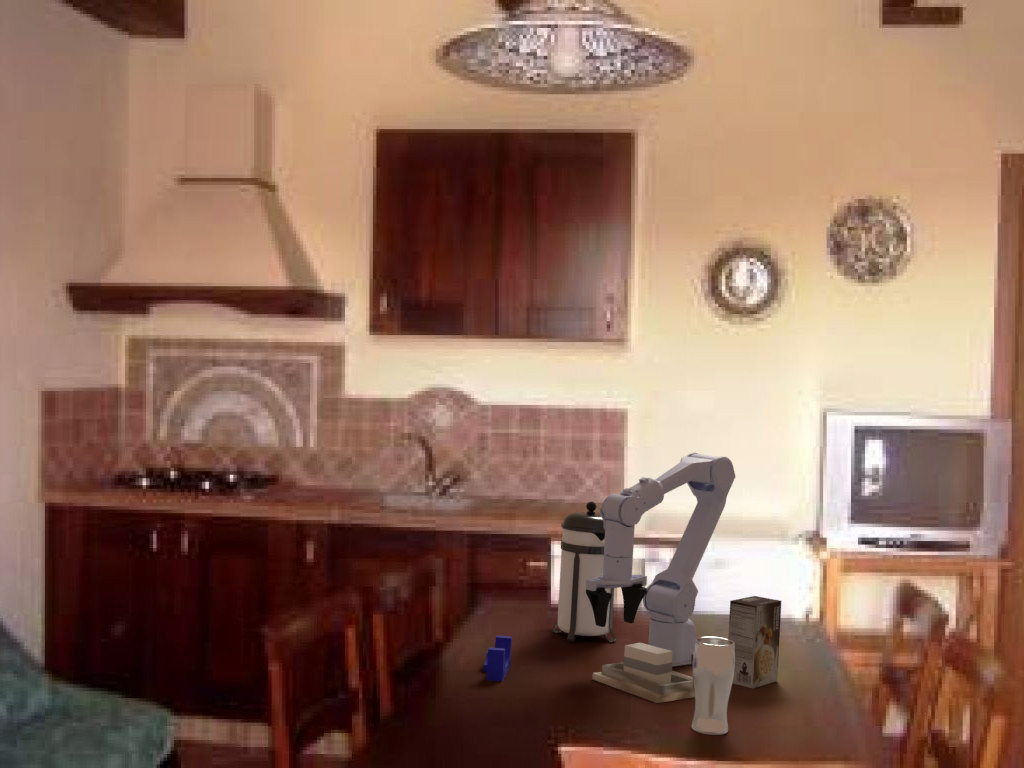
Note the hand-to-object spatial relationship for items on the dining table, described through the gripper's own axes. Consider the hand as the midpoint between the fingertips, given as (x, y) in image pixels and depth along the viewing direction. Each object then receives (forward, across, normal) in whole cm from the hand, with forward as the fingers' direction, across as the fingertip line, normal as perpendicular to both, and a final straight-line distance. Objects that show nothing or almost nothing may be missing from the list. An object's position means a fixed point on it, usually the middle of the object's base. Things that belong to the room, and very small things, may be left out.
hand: (614, 624), depth 246 cm
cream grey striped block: (+8, +3, +12) cm, 15 cm away
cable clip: (+10, +22, -9) cm, 26 cm away
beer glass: (+9, +12, +38) cm, 41 cm away
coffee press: (+9, -14, -26) cm, 31 cm away
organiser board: (+9, +1, +13) cm, 16 cm away
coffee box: (+9, -19, +19) cm, 29 cm away
